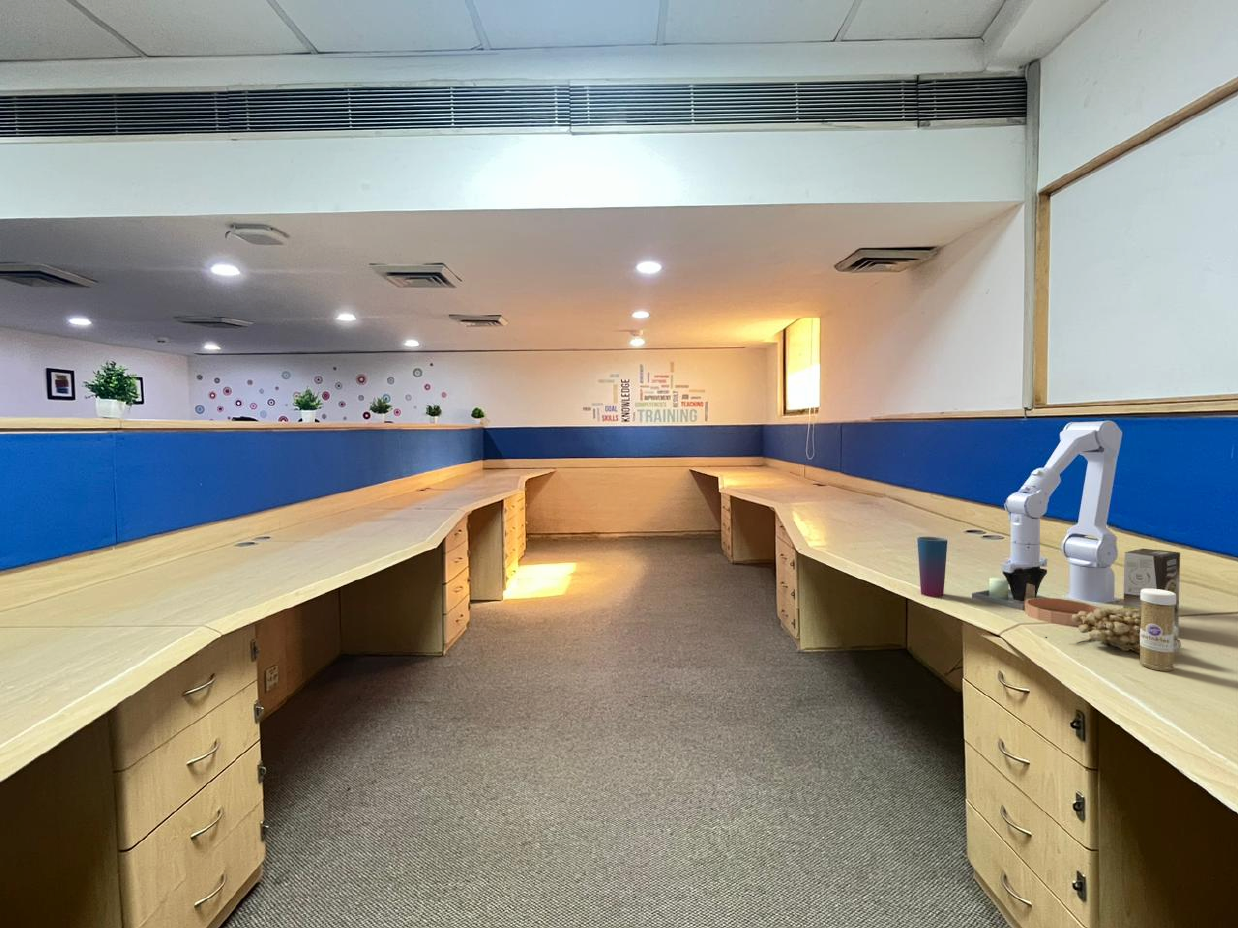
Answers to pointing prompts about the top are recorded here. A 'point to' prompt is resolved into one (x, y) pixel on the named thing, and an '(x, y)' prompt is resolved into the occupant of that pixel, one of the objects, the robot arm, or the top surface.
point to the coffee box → (1150, 575)
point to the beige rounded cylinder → (1028, 594)
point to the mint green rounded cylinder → (998, 588)
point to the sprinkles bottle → (1157, 629)
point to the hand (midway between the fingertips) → (1024, 598)
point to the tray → (1009, 602)
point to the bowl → (1056, 610)
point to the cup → (932, 565)
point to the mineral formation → (1116, 627)
